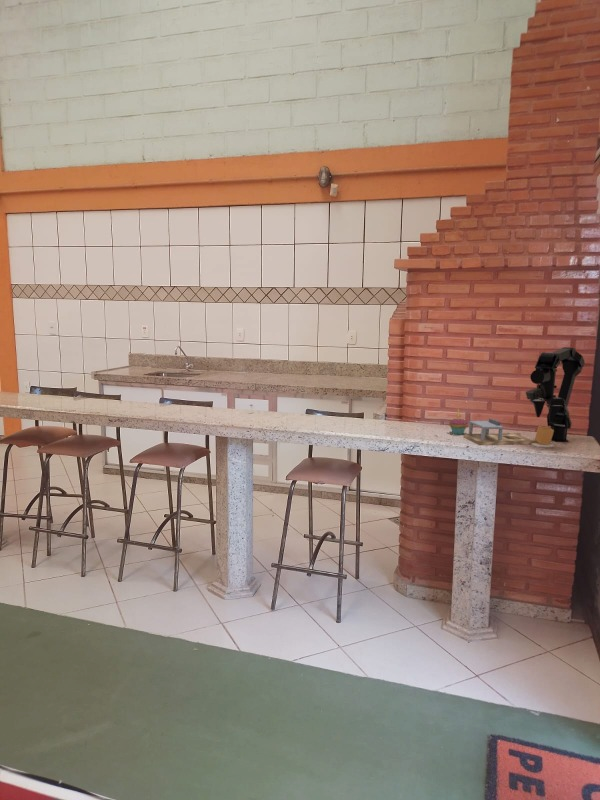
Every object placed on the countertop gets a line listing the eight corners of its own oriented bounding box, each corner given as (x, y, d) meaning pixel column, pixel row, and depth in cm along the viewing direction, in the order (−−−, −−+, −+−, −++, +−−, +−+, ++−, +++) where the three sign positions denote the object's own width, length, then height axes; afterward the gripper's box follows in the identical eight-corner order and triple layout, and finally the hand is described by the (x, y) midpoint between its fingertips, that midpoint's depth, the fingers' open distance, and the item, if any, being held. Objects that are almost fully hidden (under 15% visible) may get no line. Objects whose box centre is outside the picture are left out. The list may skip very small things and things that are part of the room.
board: (519, 437, 262) (519, 433, 261) (538, 444, 246) (539, 440, 246) (463, 437, 258) (463, 433, 258) (479, 445, 242) (479, 441, 242)
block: (544, 440, 248) (548, 426, 245) (549, 444, 243) (554, 430, 241) (534, 439, 247) (538, 425, 245) (540, 443, 243) (544, 429, 240)
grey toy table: (487, 433, 258) (488, 417, 257) (502, 440, 244) (503, 423, 243) (468, 434, 257) (469, 417, 256) (482, 440, 243) (483, 423, 242)
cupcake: (446, 431, 270) (447, 406, 268) (463, 432, 270) (465, 407, 269) (452, 435, 261) (453, 409, 259) (470, 435, 262) (472, 410, 260)
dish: (545, 442, 250) (546, 441, 250) (557, 447, 241) (558, 445, 241) (526, 443, 249) (526, 441, 249) (538, 447, 240) (538, 446, 240)
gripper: (518, 379, 249) (515, 415, 251) (542, 385, 231) (538, 423, 233) (541, 380, 251) (538, 415, 253) (567, 385, 233) (563, 423, 235)
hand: (544, 419), depth 243 cm, fingers open, 9 cm apart
